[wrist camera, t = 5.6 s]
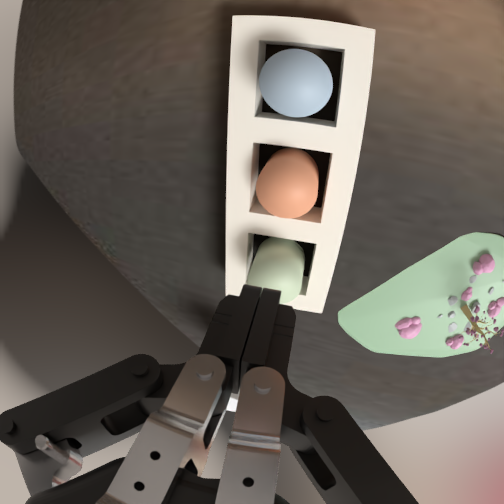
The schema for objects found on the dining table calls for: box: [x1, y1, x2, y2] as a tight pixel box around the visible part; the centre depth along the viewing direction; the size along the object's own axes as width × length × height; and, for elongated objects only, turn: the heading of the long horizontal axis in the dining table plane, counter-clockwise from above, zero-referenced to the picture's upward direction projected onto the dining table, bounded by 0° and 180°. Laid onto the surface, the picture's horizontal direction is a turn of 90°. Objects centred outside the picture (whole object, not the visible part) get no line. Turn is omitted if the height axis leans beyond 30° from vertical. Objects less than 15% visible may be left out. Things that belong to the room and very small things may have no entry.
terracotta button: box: [256, 148, 319, 218], centre depth 23 cm, size 5×5×4 cm
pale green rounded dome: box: [248, 237, 305, 304], centre depth 27 cm, size 5×5×4 cm
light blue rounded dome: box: [259, 49, 333, 117], centre depth 18 cm, size 5×5×4 cm
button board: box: [226, 15, 375, 313], centre depth 24 cm, size 10×26×3 cm, turn 177°
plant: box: [338, 232, 504, 357], centre depth 27 cm, size 25×21×9 cm
